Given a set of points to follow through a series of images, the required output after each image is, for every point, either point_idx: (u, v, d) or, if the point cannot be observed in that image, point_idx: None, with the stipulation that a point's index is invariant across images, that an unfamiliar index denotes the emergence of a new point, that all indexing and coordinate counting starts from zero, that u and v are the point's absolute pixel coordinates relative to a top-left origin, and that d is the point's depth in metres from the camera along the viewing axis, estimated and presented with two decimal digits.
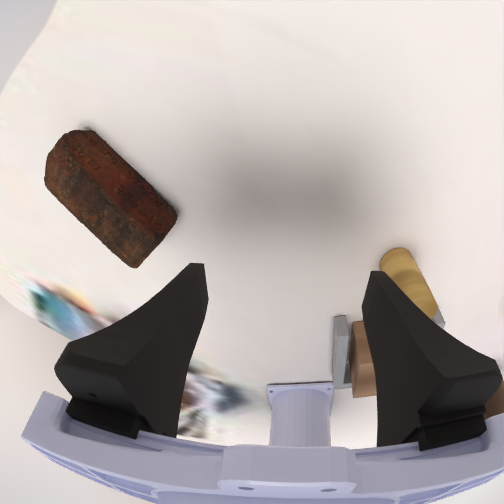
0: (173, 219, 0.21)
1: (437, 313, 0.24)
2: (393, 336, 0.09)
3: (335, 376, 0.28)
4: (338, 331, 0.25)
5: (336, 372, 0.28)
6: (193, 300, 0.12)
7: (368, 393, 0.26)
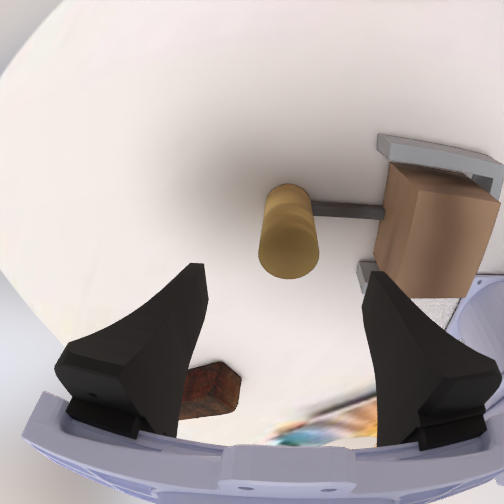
0: (215, 371, 0.29)
1: (383, 144, 0.16)
2: (393, 336, 0.09)
3: None
4: (361, 287, 0.21)
5: None
6: (193, 300, 0.12)
7: (467, 280, 0.16)
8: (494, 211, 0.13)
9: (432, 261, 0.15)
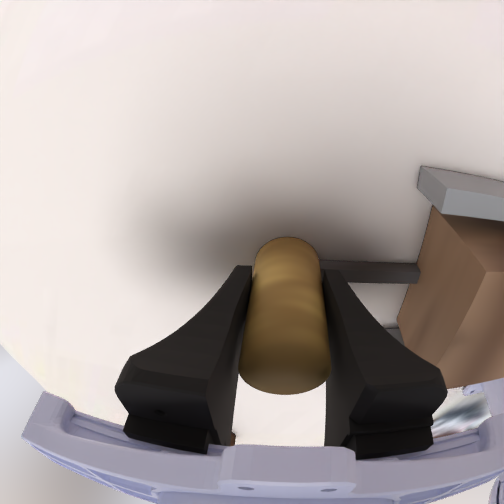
0: None
1: (430, 184, 0.10)
2: (337, 337, 0.09)
3: None
4: None
5: None
6: (245, 304, 0.11)
7: None
8: None
9: (478, 352, 0.10)
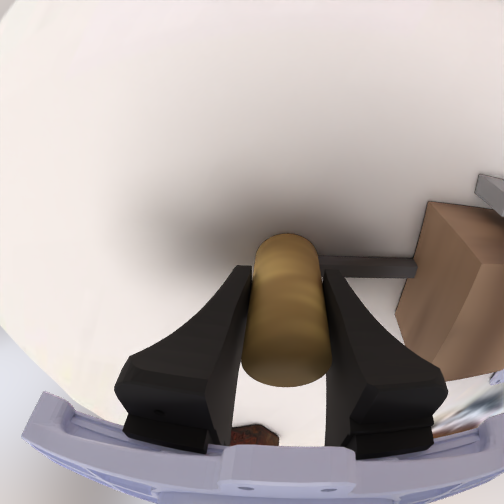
0: (254, 437, 0.24)
1: (489, 190, 0.10)
2: (337, 337, 0.09)
3: None
4: None
5: None
6: (245, 304, 0.11)
7: None
8: None
9: (476, 344, 0.10)
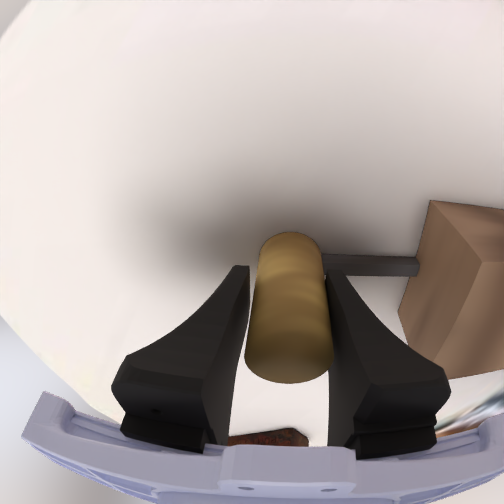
0: (288, 440, 0.23)
1: None
2: (340, 337, 0.09)
3: None
4: None
5: None
6: (242, 304, 0.11)
7: None
8: None
9: (478, 341, 0.10)
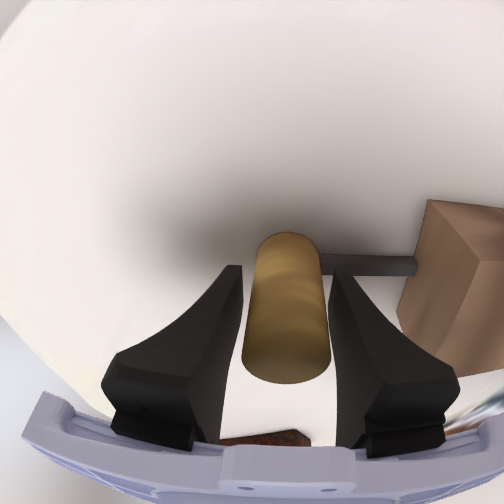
0: (291, 442, 0.24)
1: None
2: (349, 337, 0.09)
3: None
4: None
5: None
6: (234, 303, 0.11)
7: None
8: None
9: (476, 341, 0.10)
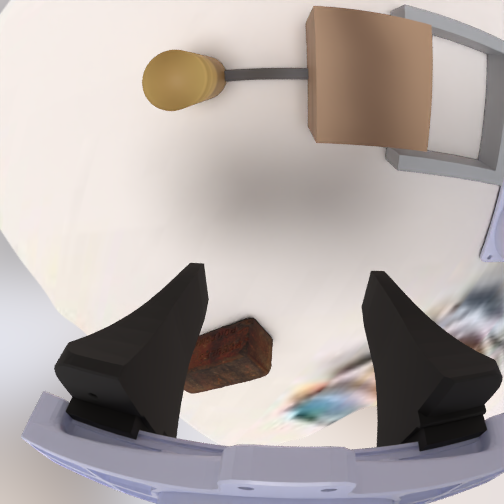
0: (247, 327, 0.26)
1: (397, 13, 0.12)
2: (393, 336, 0.09)
3: (477, 180, 0.16)
4: (394, 165, 0.17)
5: (469, 177, 0.16)
6: (193, 300, 0.12)
7: (421, 123, 0.13)
8: (426, 34, 0.10)
9: (359, 90, 0.12)
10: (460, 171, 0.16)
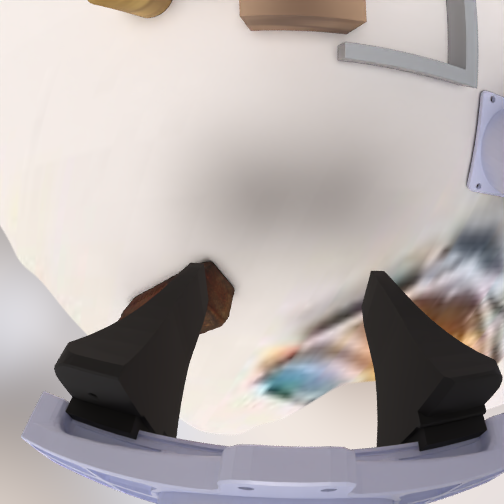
0: None
1: None
2: (393, 336, 0.09)
3: (445, 76, 0.13)
4: (343, 56, 0.14)
5: (434, 72, 0.13)
6: (193, 300, 0.12)
7: None
8: None
9: None
10: (422, 64, 0.13)
